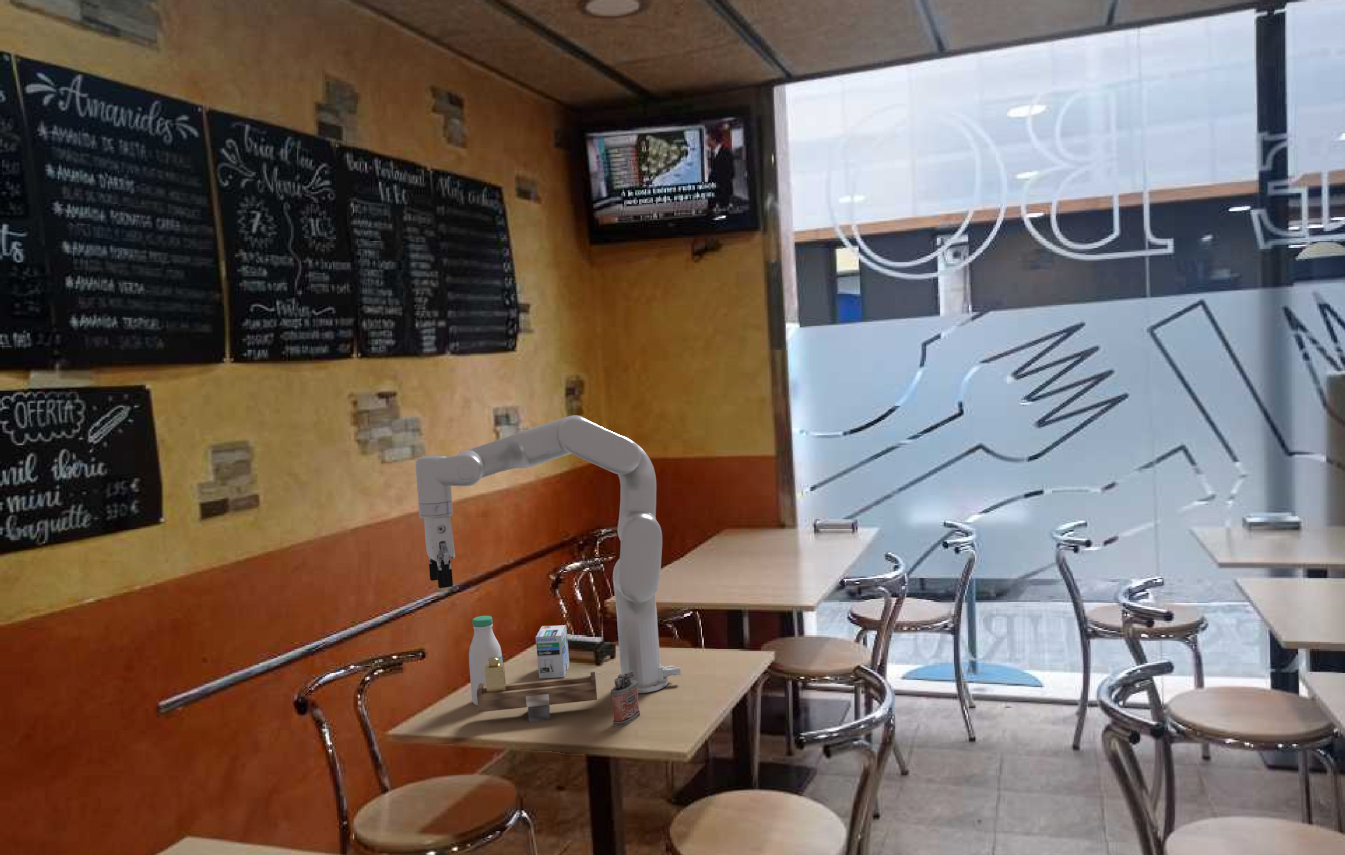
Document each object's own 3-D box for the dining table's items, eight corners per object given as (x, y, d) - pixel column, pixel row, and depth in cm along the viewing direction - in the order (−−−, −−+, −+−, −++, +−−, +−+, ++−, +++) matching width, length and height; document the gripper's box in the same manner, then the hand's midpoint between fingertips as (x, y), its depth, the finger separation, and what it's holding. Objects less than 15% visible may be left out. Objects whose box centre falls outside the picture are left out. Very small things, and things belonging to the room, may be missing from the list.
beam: (597, 702, 228) (594, 670, 227) (598, 714, 220) (595, 681, 220) (482, 714, 225) (479, 682, 225) (479, 727, 217) (476, 693, 217)
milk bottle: (498, 707, 230) (491, 621, 228) (467, 707, 231) (460, 622, 230) (510, 695, 237) (503, 613, 236) (480, 695, 239) (473, 613, 238)
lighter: (622, 727, 211) (619, 681, 211) (609, 725, 213) (606, 679, 213) (643, 714, 218) (640, 669, 218) (630, 712, 220) (627, 668, 219)
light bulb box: (565, 677, 248) (561, 635, 248) (538, 679, 248) (534, 637, 248) (570, 664, 259) (566, 624, 258) (544, 666, 259) (541, 625, 258)
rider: (506, 691, 223) (503, 656, 222) (505, 695, 220) (502, 659, 220) (488, 693, 223) (485, 657, 222) (487, 697, 220) (484, 661, 219)
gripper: (460, 512, 222) (466, 587, 223) (444, 504, 237) (449, 574, 239) (426, 515, 219) (432, 592, 220) (412, 507, 234) (418, 579, 235)
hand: (441, 583), depth 229 cm, fingers open, 9 cm apart
